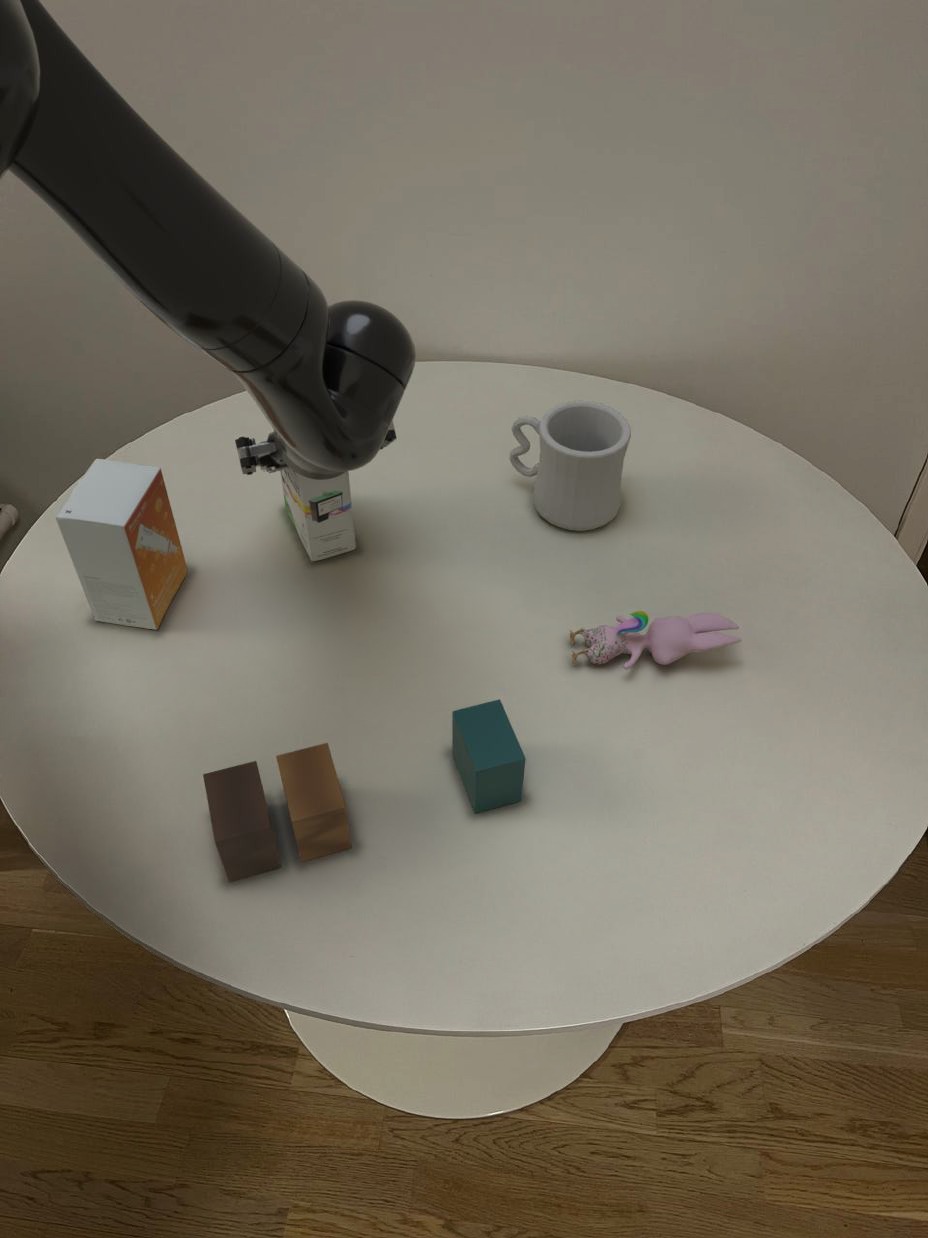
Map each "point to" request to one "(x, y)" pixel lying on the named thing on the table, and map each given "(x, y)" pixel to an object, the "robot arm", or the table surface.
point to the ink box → (320, 513)
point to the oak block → (314, 801)
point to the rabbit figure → (656, 637)
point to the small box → (124, 542)
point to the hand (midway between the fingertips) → (308, 454)
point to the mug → (576, 463)
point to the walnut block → (241, 821)
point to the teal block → (487, 755)
